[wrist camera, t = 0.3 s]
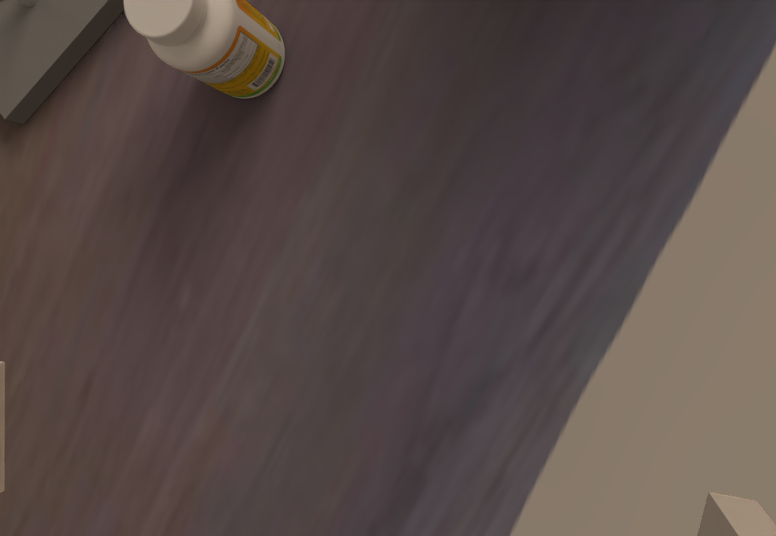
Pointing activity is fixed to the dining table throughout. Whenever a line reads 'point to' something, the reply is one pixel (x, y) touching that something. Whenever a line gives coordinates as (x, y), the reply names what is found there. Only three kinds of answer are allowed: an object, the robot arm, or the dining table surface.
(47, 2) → the pin tray
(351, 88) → the dining table surface
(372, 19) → the dining table surface
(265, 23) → the supplement bottle
